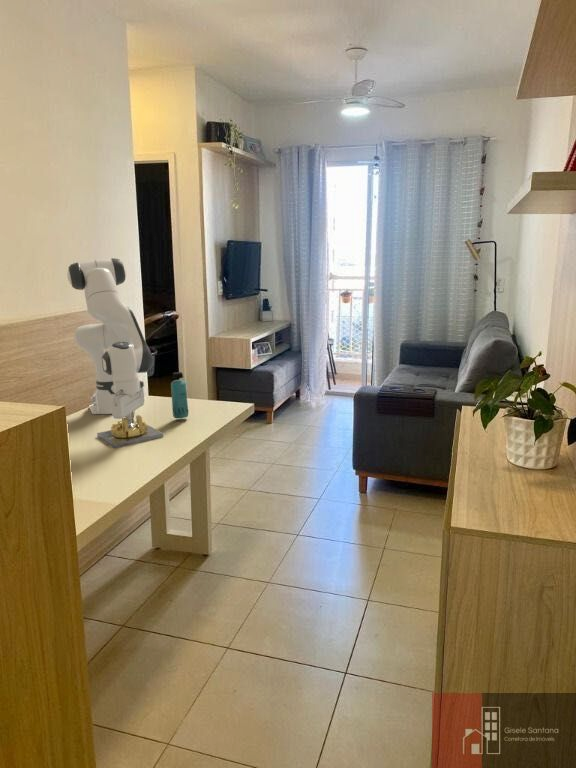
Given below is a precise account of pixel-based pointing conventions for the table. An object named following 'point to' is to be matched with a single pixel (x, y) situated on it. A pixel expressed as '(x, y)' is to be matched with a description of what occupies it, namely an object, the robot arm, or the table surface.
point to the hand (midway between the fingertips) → (130, 423)
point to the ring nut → (125, 432)
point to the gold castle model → (120, 442)
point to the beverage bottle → (179, 397)
